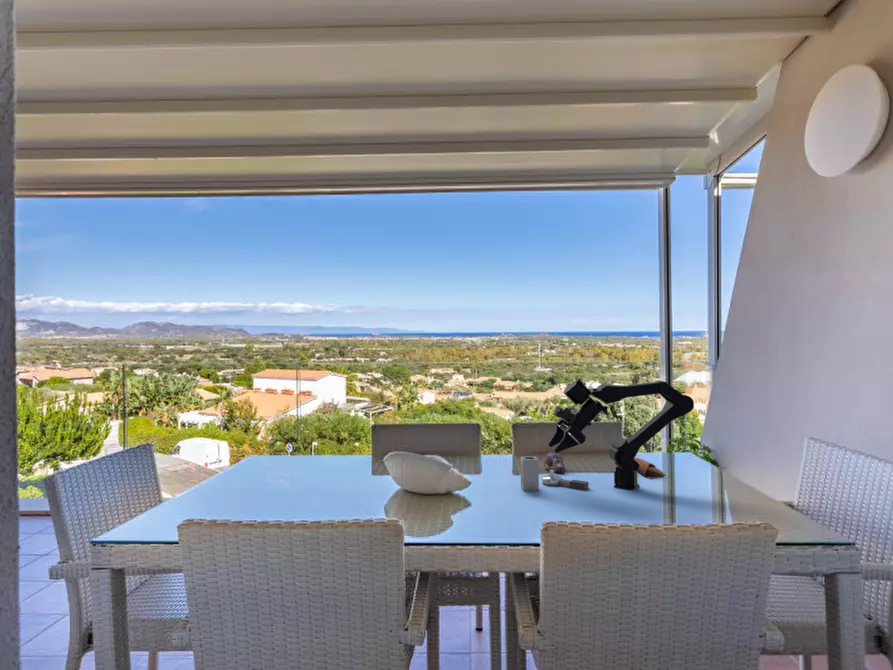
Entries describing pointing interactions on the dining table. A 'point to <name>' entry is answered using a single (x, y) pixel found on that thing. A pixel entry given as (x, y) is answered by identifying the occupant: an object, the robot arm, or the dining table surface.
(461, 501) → the dining table surface
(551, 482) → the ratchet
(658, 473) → the sunglasses case
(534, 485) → the socket
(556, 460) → the skull
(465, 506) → the dining table surface
